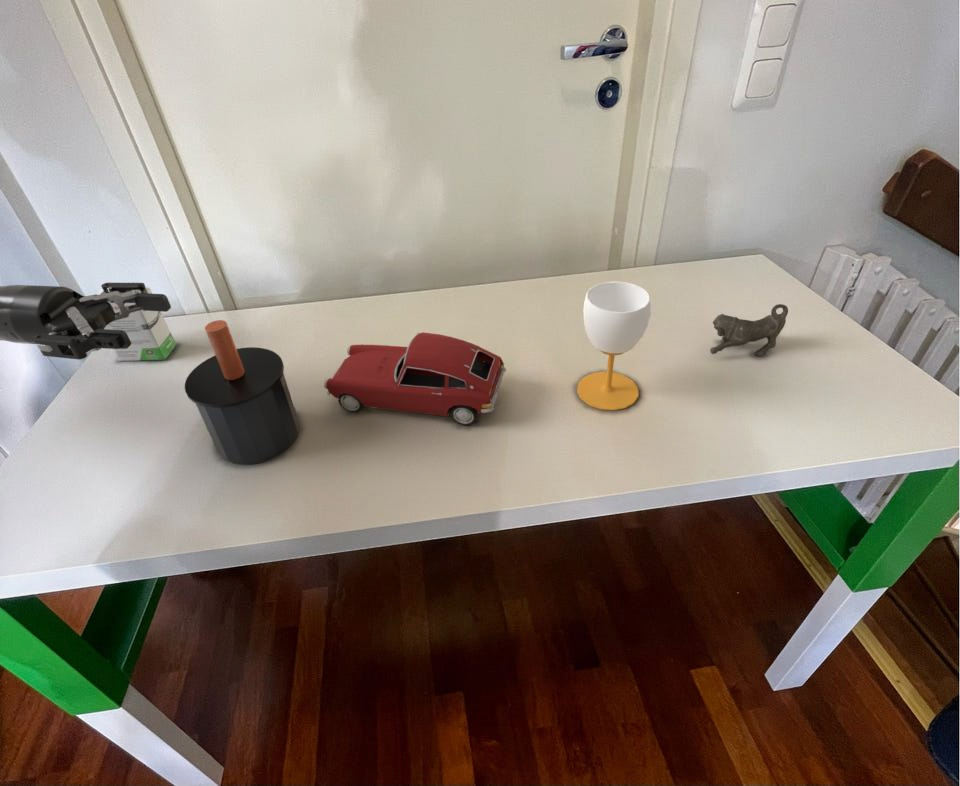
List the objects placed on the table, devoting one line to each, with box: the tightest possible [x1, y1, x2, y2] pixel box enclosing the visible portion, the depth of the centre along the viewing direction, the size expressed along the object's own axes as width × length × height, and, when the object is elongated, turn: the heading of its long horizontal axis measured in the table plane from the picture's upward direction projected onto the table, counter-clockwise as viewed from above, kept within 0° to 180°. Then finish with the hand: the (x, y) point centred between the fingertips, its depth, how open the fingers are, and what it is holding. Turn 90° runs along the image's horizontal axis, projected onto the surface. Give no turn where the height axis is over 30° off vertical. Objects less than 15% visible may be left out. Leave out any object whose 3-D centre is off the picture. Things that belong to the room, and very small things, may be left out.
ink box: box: [93, 286, 177, 362], centre depth 99 cm, size 9×5×12 cm, turn 86°
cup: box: [576, 280, 652, 412], centre depth 83 cm, size 9×9×16 cm
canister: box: [195, 372, 300, 466], centre depth 81 cm, size 11×11×10 cm
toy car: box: [323, 331, 507, 426], centre depth 86 cm, size 11×25×10 cm, turn 77°
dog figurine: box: [709, 303, 789, 357], centre depth 93 cm, size 12×6×7 cm, turn 95°
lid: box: [184, 319, 285, 408], centre depth 76 cm, size 12×12×9 cm
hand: (148, 320), depth 74 cm, fingers open, 8 cm apart
